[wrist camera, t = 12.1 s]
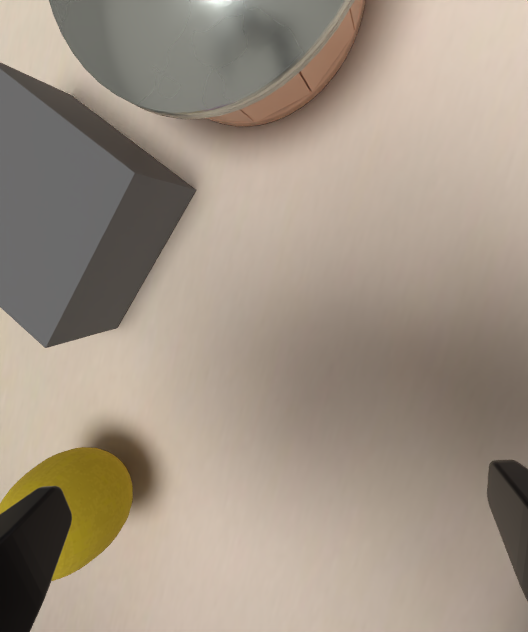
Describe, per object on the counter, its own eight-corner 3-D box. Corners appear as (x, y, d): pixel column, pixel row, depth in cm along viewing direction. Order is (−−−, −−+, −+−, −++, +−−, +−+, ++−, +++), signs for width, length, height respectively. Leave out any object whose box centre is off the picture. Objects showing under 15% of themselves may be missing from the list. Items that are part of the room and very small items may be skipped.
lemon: (84, 415, 25) (-52, 486, 18) (162, 438, 24) (50, 527, 16) (81, 495, 26) (-47, 594, 19) (157, 523, 25) (49, 643, 17)
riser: (196, 189, 20) (134, 172, 16) (117, 327, 23) (45, 348, 19) (70, 94, 22) (-21, 53, 17) (10, 235, 25) (-82, 232, 20)
